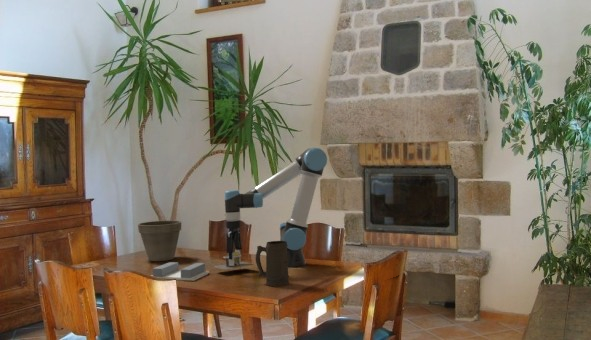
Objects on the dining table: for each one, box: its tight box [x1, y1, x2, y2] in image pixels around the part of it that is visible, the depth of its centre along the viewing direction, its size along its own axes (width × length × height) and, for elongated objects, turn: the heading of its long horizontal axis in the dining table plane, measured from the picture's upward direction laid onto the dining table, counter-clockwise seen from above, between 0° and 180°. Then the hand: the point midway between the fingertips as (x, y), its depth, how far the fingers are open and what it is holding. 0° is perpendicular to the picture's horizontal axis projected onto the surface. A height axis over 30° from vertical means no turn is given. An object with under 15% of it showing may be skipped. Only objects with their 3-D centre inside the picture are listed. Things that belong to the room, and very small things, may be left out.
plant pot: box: [137, 219, 182, 262], centre depth 365 cm, size 25×25×22 cm
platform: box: [212, 251, 255, 270], centre depth 322 cm, size 12×18×7 cm, turn 127°
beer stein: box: [255, 240, 290, 287], centre depth 289 cm, size 15×11×20 cm
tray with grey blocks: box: [151, 261, 210, 282], centre depth 313 cm, size 24×18×5 cm
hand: (234, 263), depth 322 cm, fingers closed on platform, 8 cm apart
